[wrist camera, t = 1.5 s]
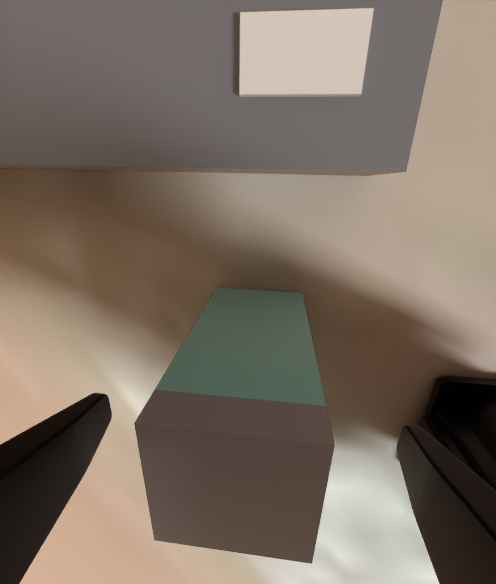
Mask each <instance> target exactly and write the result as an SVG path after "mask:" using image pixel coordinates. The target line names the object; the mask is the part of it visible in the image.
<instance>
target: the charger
mask: <svg viewBox="0 0 496 584" xmlns="http://www.w3.org/2000/svg"><path fill="white" fill-rule="evenodd" d="M134 424H135V430H136V435H137V441H138V447H139V453H140V459H141V465H142V470H143V476H144V482H145V488H146V494H147V500H148V505H149V511H150V517H151V523H152V529H153V535H154V540H157V541H164V542H170V543H177V544H184V545H191V546H197V547H204V548H211V549H218V550H224V551H231V552H238V553H245V554H251V555H258V556H265V557H272V558H278V559H285V560H292V561H299V562H305V563H312V560H313V555H314V549H315V544H316V539H317V534H318V528H319V523H320V518H321V513H322V508H323V502H324V497H325V492H326V487H327V482H328V476H329V471H330V466H331V461H332V455H333V450H334V440H333V436H332V431H331V426H330V421H329V417H328V412H327V407H326V402H325V398H324V393H323V388H322V383H321V379H320V374H319V369H318V364H317V360H316V355H315V350H314V345H313V341H312V336H311V331H310V326H309V321H308V317H307V312H306V307H305V302H304V298H303V293H302V292H287V291H270V290H253V289H237V288H220V287H217V288H216V290H215V292H214V293H213V295H212V296H211V298H210V300H209V301H208V303H207V305H206V306H205V308H204V310H203V311H202V313H201V315H200V316H199V318H198V319H197V321H196V323H195V324H194V326H193V328H192V329H191V331H190V333H189V334H188V336H187V338H186V339H185V341H184V343H183V344H182V346H181V347H180V349H179V351H178V352H177V354H176V356H175V357H174V359H173V361H172V362H171V364H170V366H169V367H168V369H167V371H166V372H165V374H164V375H163V377H162V379H161V380H160V382H159V384H158V385H157V387H156V389H155V390H154V392H153V394H152V395H151V397H150V398H149V400H148V402H147V403H146V405H145V407H144V408H143V410H142V412H141V413H140V415H139V417H138V418H137V420H136V422H135V423H134Z"/></svg>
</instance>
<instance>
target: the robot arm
mask: <svg viewBox="0 0 496 584" xmlns="http://www.w3.org/2000/svg"><path fill="white" fill-rule="evenodd" d="M448 386H450V387H449V388H447V389H445V388H446V387H448ZM111 417H112V412H111V408H110V403H109V398H108V396H107V395H106V394H101V393H93V394H91V395H89V396H87V397H85V398H84V399H82V400H80V401H78V402H76V403H75V404H73V405H71V406H69V407H67V408H66V409H64V410H62V411H60V412H58V413H57V414H55V415H53V416H51V417H49V418H48V419H46V420H44V421H42V422H40V423H38V424H37V425H35V426H33V427H31V428H29V429H28V430H26V431H24V432H22V433H20V434H19V435H17V436H15V437H13V438H11V439H10V440H8V441H6V442H4V443H2V444H1V445H0V584H19V583H20V582H21V580H22V578H23V576H24V575H25V573H26V571H27V570H28V568H29V566H30V565H31V563H32V561H33V560H34V558H35V556H36V555H37V553H38V551H39V550H40V548H41V546H42V545H43V543H44V541H45V540H46V538H47V536H48V535H49V533H50V531H51V530H52V528H53V526H54V524H55V523H56V521H57V519H58V518H59V516H60V514H61V513H62V511H63V509H64V508H65V506H66V504H67V503H68V501H69V499H70V498H71V496H72V494H73V493H74V491H75V489H76V488H77V486H78V484H79V483H80V481H81V479H82V477H83V476H84V474H85V472H86V470H87V468H88V466H89V465H90V463H91V461H92V458H93V456H94V454H95V452H96V450H97V448H98V446H99V444H100V442H101V440H102V438H103V436H104V434H105V431H106V429H107V427H108V425H109V423H110V421H111ZM397 453H398V457H399V461H400V465H401V468H402V472H403V476H404V479H405V483H406V487H407V491H408V494H409V498H410V502H411V505H412V509H413V512H414V515H415V518H416V521H417V524H418V527H419V529H420V532H421V535H422V538H423V540H424V543H425V546H426V548H427V551H428V554H429V556H430V559H431V562H432V564H433V567H434V570H435V573H436V575H437V578H438V581H439V583H440V584H496V380H489V379H476V378H464V377H452V376H444V377H441V378H439V379H438V380H436V382H435V384H434V387H433V390H432V393H431V396H430V399H429V402H428V405H427V407H426V410H425V413H424V416H423V417H422V419H421V422H420V425H419V426H414V425H404V426H403V428H402V431H401V434H400V437H399V441H398V444H397Z"/></svg>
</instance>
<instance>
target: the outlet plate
mask: <svg viewBox="0 0 496 584" xmlns="http://www.w3.org/2000/svg"><path fill="white" fill-rule="evenodd" d="M442 1H443V0H0V168H32V169H79V170H126V171H173V172H220V173H267V174H314V175H361V176H369V175H378V174H388V173H398V172H406V169H407V164H408V160H409V155H410V150H411V146H412V141H413V136H414V132H415V127H416V122H417V118H418V113H419V108H420V104H421V99H422V94H423V90H424V85H425V81H426V76H427V71H428V67H429V62H430V57H431V53H432V48H433V43H434V39H435V34H436V29H437V25H438V20H439V15H440V11H441V6H442Z"/></svg>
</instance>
